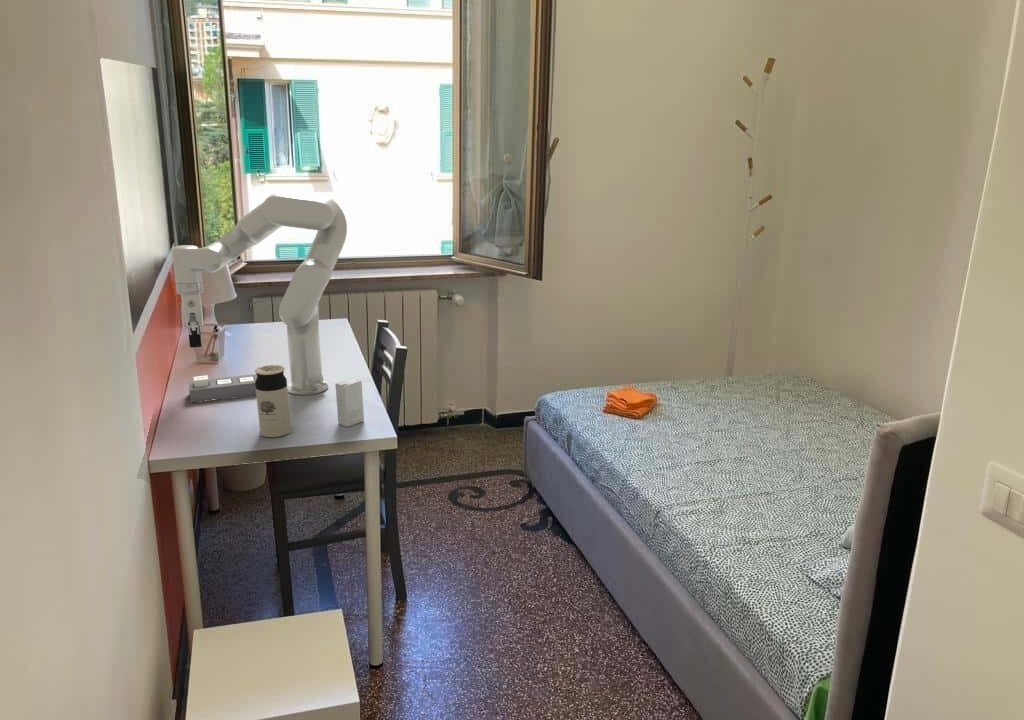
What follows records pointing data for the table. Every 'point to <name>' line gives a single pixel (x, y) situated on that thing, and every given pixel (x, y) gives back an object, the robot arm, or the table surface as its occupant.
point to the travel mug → (272, 401)
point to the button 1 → (201, 381)
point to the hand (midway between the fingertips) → (195, 342)
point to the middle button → (224, 381)
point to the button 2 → (246, 379)
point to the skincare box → (349, 402)
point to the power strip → (223, 389)
